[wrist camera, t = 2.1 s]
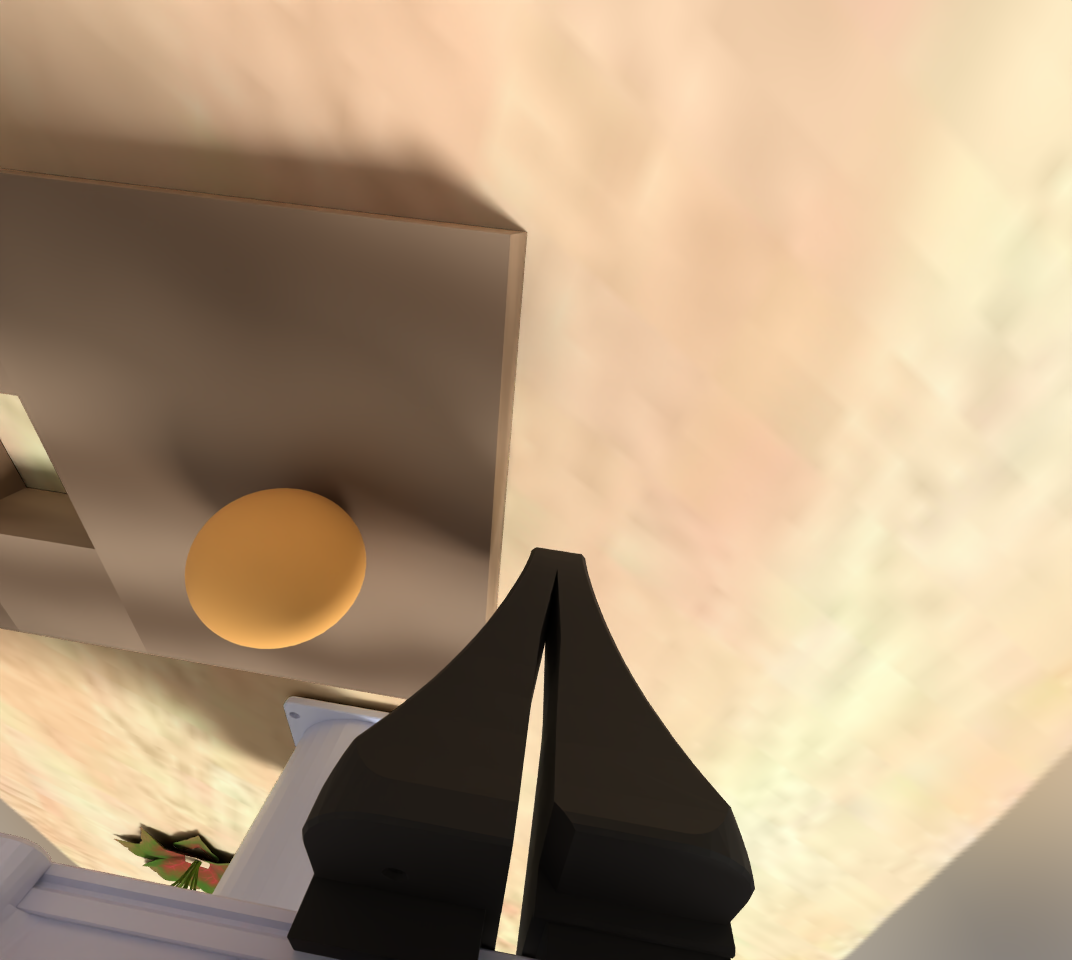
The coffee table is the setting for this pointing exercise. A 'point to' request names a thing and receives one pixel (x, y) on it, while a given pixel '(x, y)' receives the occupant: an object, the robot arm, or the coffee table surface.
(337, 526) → the ball
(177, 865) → the lily flower
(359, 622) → the plate
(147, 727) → the coffee table surface
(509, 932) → the coffee table surface
